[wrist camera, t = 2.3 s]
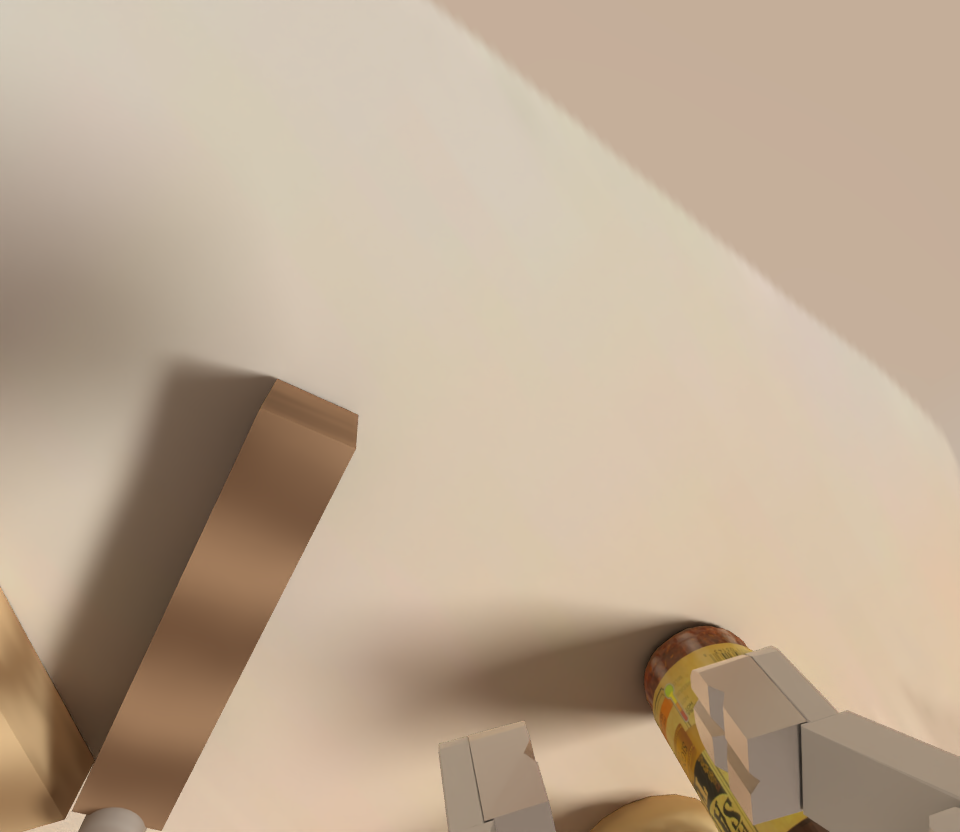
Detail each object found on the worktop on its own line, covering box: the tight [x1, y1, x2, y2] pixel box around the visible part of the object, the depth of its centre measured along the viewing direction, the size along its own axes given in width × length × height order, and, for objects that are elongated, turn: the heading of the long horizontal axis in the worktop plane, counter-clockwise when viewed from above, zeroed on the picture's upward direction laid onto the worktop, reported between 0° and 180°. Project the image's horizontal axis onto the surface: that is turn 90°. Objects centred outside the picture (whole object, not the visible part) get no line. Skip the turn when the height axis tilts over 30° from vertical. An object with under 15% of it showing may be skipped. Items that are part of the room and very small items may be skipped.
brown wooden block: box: [72, 379, 358, 832], centre depth 25 cm, size 20×4×5 cm, turn 152°
